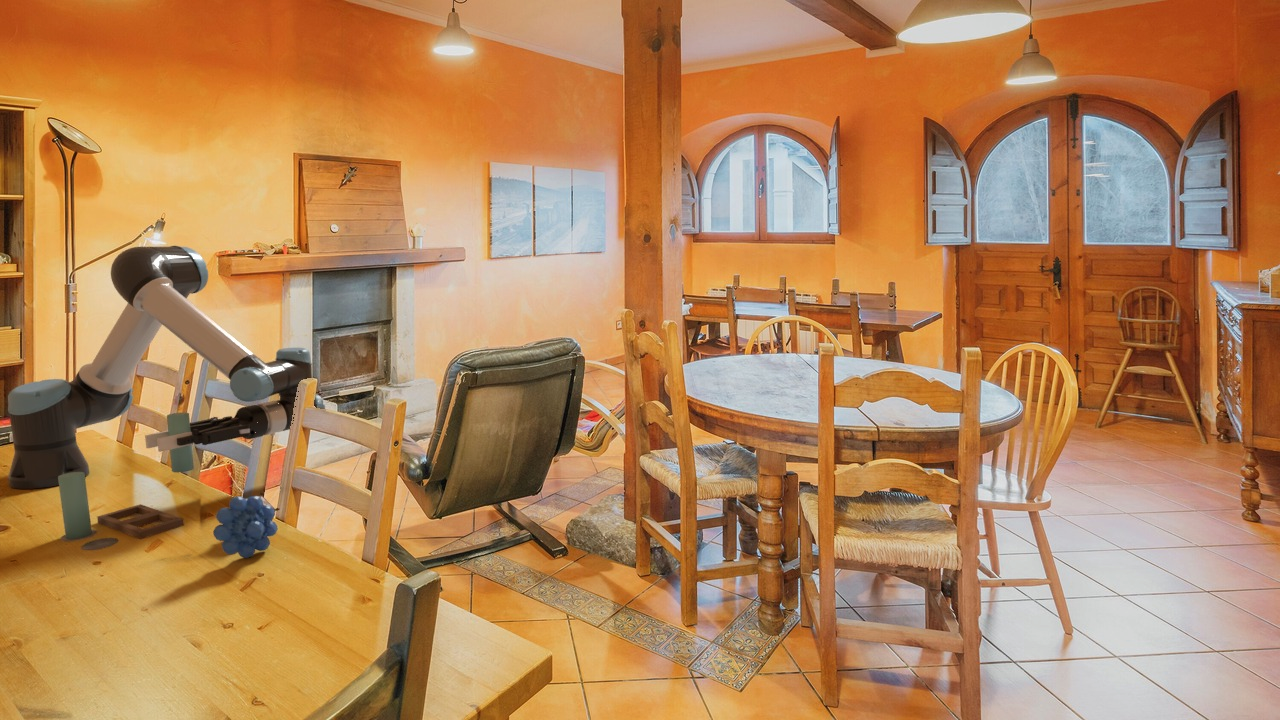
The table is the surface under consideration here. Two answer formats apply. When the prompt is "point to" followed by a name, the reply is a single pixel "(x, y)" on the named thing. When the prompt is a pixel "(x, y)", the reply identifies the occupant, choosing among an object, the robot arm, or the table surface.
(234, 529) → the blue flower wheel
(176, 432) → the teal pin
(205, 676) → the table surface
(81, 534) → the pin
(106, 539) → the pattern plate
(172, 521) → the brown wooden peg holder
